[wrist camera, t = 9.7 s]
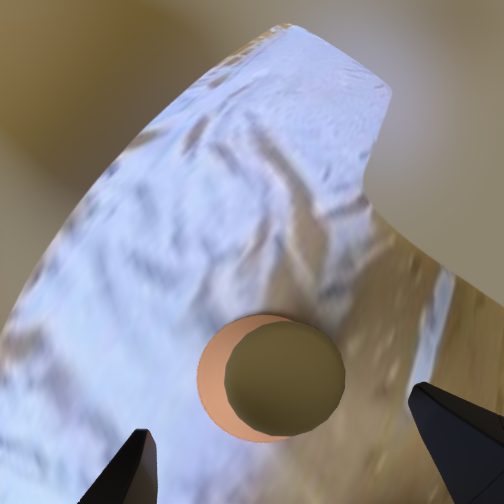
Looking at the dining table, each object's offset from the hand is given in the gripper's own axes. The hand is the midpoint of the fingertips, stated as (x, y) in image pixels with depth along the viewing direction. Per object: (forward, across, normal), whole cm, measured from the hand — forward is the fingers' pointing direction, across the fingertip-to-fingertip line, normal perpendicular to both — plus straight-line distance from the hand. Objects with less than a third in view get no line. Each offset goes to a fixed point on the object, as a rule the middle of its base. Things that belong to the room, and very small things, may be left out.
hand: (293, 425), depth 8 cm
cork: (+10, -1, +8) cm, 13 cm away
